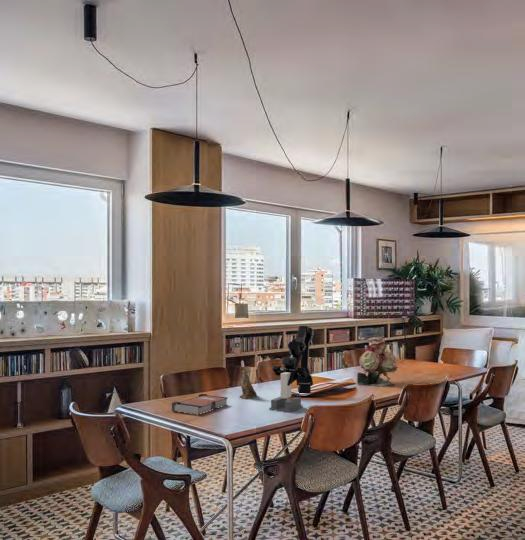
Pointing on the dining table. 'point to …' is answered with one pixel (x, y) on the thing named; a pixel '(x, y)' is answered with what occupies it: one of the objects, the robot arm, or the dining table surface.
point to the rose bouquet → (376, 364)
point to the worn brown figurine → (247, 387)
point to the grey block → (285, 385)
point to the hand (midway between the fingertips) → (284, 384)
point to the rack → (286, 404)
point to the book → (199, 404)
